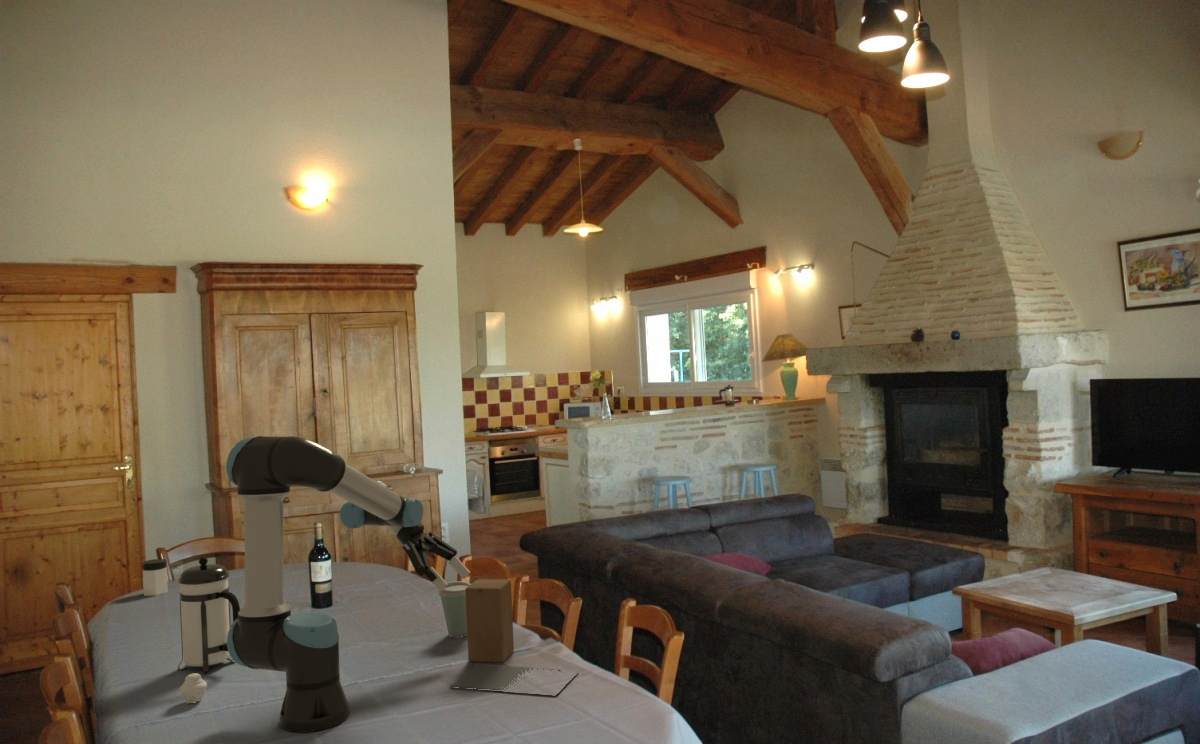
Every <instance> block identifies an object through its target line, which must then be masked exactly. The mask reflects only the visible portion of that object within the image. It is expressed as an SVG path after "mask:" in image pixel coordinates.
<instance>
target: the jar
mask: <svg viewBox="0 0 1200 744" xmlns="http://www.w3.org/2000/svg"><path fill="white" fill-rule="evenodd" d="M167 564H168V563H167V559H165V558H155V559H150V560H149V559H148V560H145V561H143V562H142V563H141V569H142V587H143V595H144V597H152V596H154V597H157V596H160V595H163V594H167V593H168V572H167V571H168V569H167V566H168V565H167Z"/></svg>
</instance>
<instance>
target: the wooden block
mask: <svg viewBox="0 0 1200 744" xmlns="http://www.w3.org/2000/svg"><path fill="white" fill-rule="evenodd" d="M470 584H471V585H469V586H468V587H467V588H466V589H465V592H466V615H467V636H466V637H467V639H466V640H467V656H468V657H467V658H468V659H467V660H468V662H473V663H474V662H477V663H478V662H479V663H504V662H505V661H506V660H507V659H508V658H509V657H510V655H511V654H513V652H514V651H513V650H515V647H514V643H515V642H514V619H513V601H512V597H513V596H512V595H513V594H512V580H511V579H500V578H499V579H497V578H495V579H494V578H493V579H492V578H491V579H489V578H488V579H486V578H485V579H482V578H481V579H476V580H474V581H473V582H472V583H470ZM506 658H507V659H506Z"/></svg>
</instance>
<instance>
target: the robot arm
mask: <svg viewBox="0 0 1200 744" xmlns="http://www.w3.org/2000/svg"><path fill="white" fill-rule="evenodd" d="M346 463H347V462H346V460H345V459H344V458H343V456H341V455H340V454H339V453H336V452H335V451H333V450H332V449H329V448H328V447H326V446H324V445H322V444H320V443H318V442H315V441H313V440H310V439H308V438H304V437H301V436H294V435H293V436H289V435H288V436H264V435H263V436H261V435H258V436H252V437H245V438H243V439H241V440H240V441H237V442H236V443H235V445H234V446H233V447H232V448H231V450H230V451H229V454H228V456H227V458H226V464H225V468H226V475H227V478H228V479H230V482H231V483H232V484H234V485H235V486H236V488H237V496H238V497H239V498H240V499H241V500H242V501H243V503H244V605H243V606H242V608H240V611H239V612H238V618H237V619H236V620H235V621H234V622H233V621H232V622H231V629H230V630H229V632H228V636H227V648H228V652H229V654H230V656H229V657H230V659H231V660H232V661H235V664H237V665H239V666H242V667H245V668H249V669H252V670H265V671H275V672H283V673H285V678H286V680H285V681H286V691H285V695H284V698H283V700H282V705H281V708H280V712H279V727H281V729H283V730H284V731H288V732H293V733H307V732H308V733H309V732H316V731H322V730H325V729H330V728H331V727H332V728H333V727H334V726H337V725H338V724H341V723H342V722H344V721H346V720H347V718H349V715H350V703H349V702H348V700H347V697H346V694H345V691H344V688H343V686H342V684H341V680H340V679H341V676H340V648H339V647H340V646H339V645H340V643H339V639H340V636H339V632H338V631H339V630H338V624H337V621H336V619H335V618H334V617H333V616H331V615H329V614H327V613H323V612H318V611H311V612H307V611H304V612H303V611H302V612H297V613H293V614H292V607H291V606H290V605H289V604H288V603H287V602H286V601H285V595H284V594H285V586H284V585H285V581H284V580H285V577H284V576H285V575H284V574H285V572H284V571H285V570H284V569H285V567H284V565H285V562H284V558H285V557H284V553H285V551H284V550H285V549H284V544H285V543H284V500H285V499H286V497H287V496H288V495H289V494H290V492H291V487H300V488H301V487H303V488H310V489H314V490H316V491H317V492H321V493H327V492H330V493H331V494H333V495H336V496H337V497H339V498H340V499H343V500H345V501H347V502H345V503H344V504H342V506H341V507H340V509H339V518H340V521H341V523H342V524H343V526H344V527H346V528H347V529H351V530H355V529H358V528H359V529H360V528H361V527H363V526H371V527H372V526H374V527H375V526H377V527H378V526H379V527H387V529H388V530H389V531H390V533H392V535H394V536H396V539H397V540H398V541H399V542H400V543H401V544H402V545H403V546H402V549H403V550H404V552H405V553H406V555H407V556H408V559H409V561H410V563H411V565H412V567H413V569H414V571H415V573H416V574H417V575H419V576H421V577H422V576H424V575H425V576H426V578H427V579H428V580H429V581H430V582H432V584H433V585H434V586H435V587H436V589H438V591H439V590H440V591H443V589H444V588H445V587H446V586H447V585H448V584H447V583H448V582H447V581H446V580H445V579H444V578H443V577H442V576H441V575H440V573H438V572H437V570H436V569H435V568H434V567H433V566H431V567H430V564H429V560H428V556H427V553H429V554H431V553H432V554H435V555H437V556H439V557H440V558H443V560H444V559H445V560H446V561H448V564H449V565H450V566H451V567H452V569H454V571H455V572H456V573H457V574H458V575H459V576H460V578H462V580H465V579H466V578H467V577H468V576H469V575H470V573H471V571H470V569H468V568H467V567H466V565H465V564H464V563H463V562H462V561H461V560H460V559H459V558H458V557H457V555H458V551H457V549H455V548H454V547H453V546H451V545H450V544H448V543H446V542H445V541H444V540H443V539H441V538H439V537H438V536H436V534H434V533H433V532H432V531H430V532H429V533H427V534H426V532H424V530H425V526H424V525H423V524H422V520H423V516H424V506H423V503H422V502H421V500H420V499H418V498H414V497H413V498H412V497H404V496H403V497H402V496H401V495H399V494H397V493H396V492H394V491H393V490H391V488H390V487H388V485H386V483H384V482H383V481H381V480H376V481H375V480H374V479H373V478H371V477H370V476H369V477H368V476H367V475H365V474H364V473H362V472H361V471H359V470H357V469H355V468H353V467H352V466H350V465H349V464H346Z"/></svg>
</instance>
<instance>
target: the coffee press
mask: <svg viewBox="0 0 1200 744" xmlns="http://www.w3.org/2000/svg"><path fill="white" fill-rule="evenodd" d="M208 562H209V560H208V558H207V557H204V556H202V557H200V558H199V560H198V564H199V565H196V566H192V567H188V568H186V569H184V570H183V571H182V572H181V574H180V576H179V578H178V580H177V581H178V584H179V588H180V589H179V590H180V591H179V612H180V616H179V617H180V632H181V633H180V636H181V637H180V638H181V639H180V640H181V656H182V657H181V661H180V662H179V664H178V666H177V669H178V670H179V669H180V668H181V667H180V665H181V664H182V663H185V665H184V666H182V668H183V670H184V669H186V667H188V666H190V667H195V668H197V667H198V668H201V667H202V674H203V673H206V674H209V673H208V671H209V670H210V666H214V665H218V664H220V663H222V662H225V661H229V662H231V663H232V662H233V661H234V660H233V659H232V658H230V657H231V656H230V654H229V652H228V648H227V636H228V632H229V630H230V629H231V628H232V627H231V625H232V623H233V622H234V621H235V620H236V619H237V618H238V612H239V611H240V610H241V608H240V602H239V600H238V598H237V596H236V595H235V594H234V593H232V592H231V591H230V585H229V578H230V572H229V571H228V569H227V568H226V567H225V566H223V565H222V564H215V563H211V564H208ZM231 609H232V616H231V614H230V613H231ZM231 617H232V618H231ZM231 619H232V620H231ZM209 672H210V671H209Z"/></svg>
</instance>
